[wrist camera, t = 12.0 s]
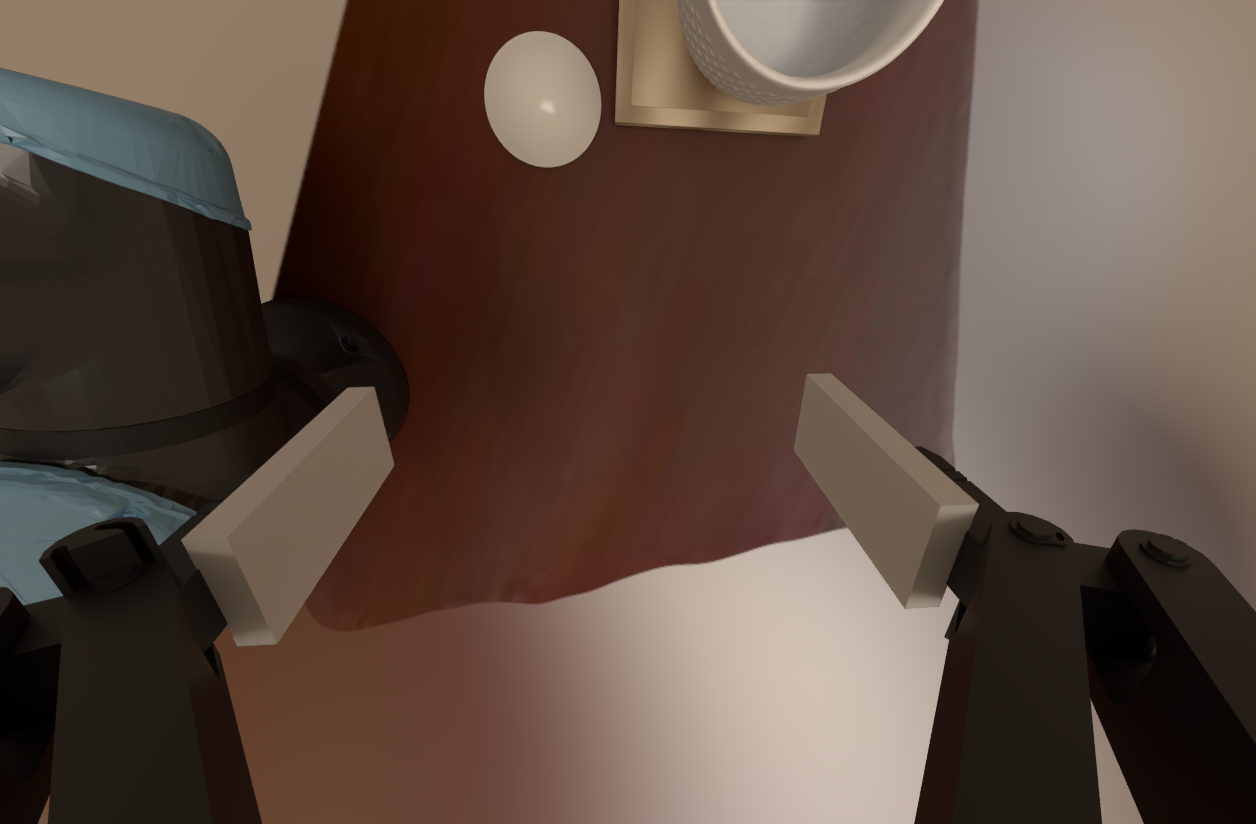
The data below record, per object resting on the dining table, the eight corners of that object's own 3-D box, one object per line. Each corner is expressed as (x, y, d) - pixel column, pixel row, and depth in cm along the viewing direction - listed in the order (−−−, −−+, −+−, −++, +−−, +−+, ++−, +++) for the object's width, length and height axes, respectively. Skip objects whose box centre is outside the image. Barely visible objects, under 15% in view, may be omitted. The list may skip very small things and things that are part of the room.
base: (614, 124, 35) (615, 121, 33) (624, -149, 29) (625, -177, 27) (805, 136, 36) (820, 134, 34) (854, -127, 30) (876, -153, 28)
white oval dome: (500, 172, 37) (497, 173, 36) (475, 41, 33) (472, 38, 32) (607, 161, 37) (607, 161, 36) (593, 28, 33) (593, 24, 32)
